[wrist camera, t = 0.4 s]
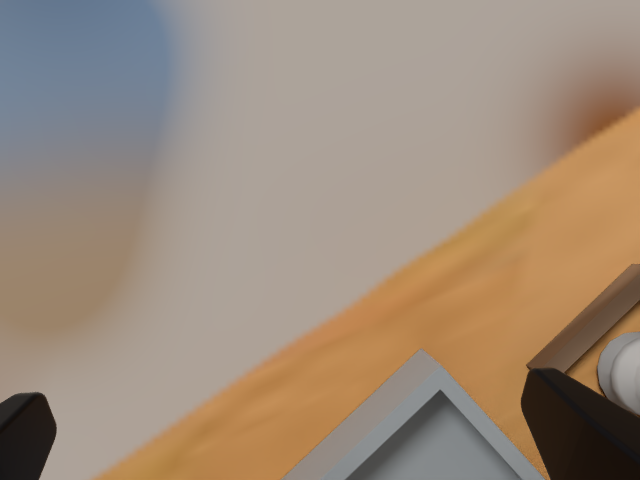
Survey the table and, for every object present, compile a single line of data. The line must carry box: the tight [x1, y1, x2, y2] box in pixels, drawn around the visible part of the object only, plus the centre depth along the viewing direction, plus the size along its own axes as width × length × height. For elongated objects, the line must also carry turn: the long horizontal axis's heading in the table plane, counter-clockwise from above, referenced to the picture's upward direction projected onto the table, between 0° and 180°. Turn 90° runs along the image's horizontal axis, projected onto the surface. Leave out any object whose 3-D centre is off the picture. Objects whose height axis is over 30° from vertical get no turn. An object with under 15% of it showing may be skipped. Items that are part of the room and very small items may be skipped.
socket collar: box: [526, 264, 640, 374], centre depth 22 cm, size 8×8×1 cm
